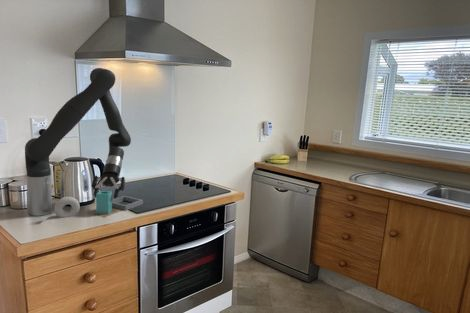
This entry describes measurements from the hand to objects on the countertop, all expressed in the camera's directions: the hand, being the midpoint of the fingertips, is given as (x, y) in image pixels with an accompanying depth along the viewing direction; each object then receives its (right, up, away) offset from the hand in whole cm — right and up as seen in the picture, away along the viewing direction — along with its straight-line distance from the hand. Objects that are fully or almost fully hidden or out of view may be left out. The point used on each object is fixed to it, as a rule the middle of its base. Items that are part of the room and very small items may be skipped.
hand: (105, 197), depth 158 cm
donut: (-14, -9, -7) cm, 18 cm away
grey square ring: (+5, -6, +12) cm, 14 cm away
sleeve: (0, -7, 0) cm, 7 cm away
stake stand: (0, -8, 0) cm, 8 cm away
